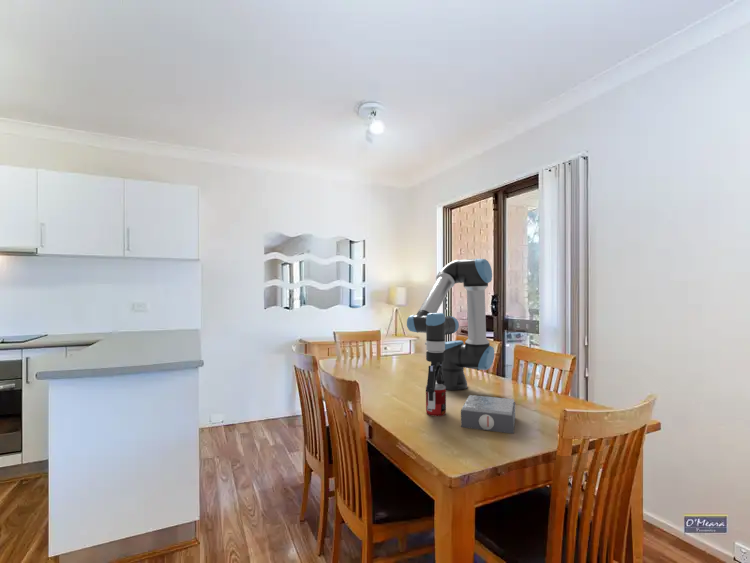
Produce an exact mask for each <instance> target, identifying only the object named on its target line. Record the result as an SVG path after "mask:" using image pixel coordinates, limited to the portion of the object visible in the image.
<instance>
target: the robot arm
mask: <svg viewBox="0 0 750 563" xmlns="http://www.w3.org/2000/svg"><path fill="white" fill-rule="evenodd" d="M492 270H493V269H492V266H491V264H490V262H489V261H488V260H487V259H485V258H467V259H455V260H451V262H449V263H447V264H446V265H444V267H442V268H441V269H440V271H439V272H438V273H437V275H436V278H435V280H436V281H435V282H434V284H433V286H432V287H431V289H430V290H429V293H428V294H427V296H426V297H425V299H424V301H423V303H422V304H421V306H420V308H419V309H418V311H417V313H416V314H411V315H409V316H408V317H407V319H406V326H407V330H408V331H409V332H413V333H422V334H426V338H425V339H426V340H425V342H424V345H426V346H425V348H426V353H425V355H426V356H425V358H426V359H425V360H426V361H427V362H430V365H428V373H427V381H426V385H427V389H426V388H425V393H426V392H428V409H435V385H436V384H441V385H444V386H446V391H449V390H450V391H459V390H460V391H461V390H466V389H468V381H467V377H466V375H465V372H464V370H465V369H472V370H473V369H474V370H479V371H480V370H481V371H488V370H489V369H491V367H492V365H493V362H494V359H495V349H494V347H493V346H492V345H491V344H490V341H489V339H487V322H486V318H487V316H486V289H487V288H488V287H489V284H490V283H491V282H492V280H493V271H492ZM456 284H463V288H464V289H465V290H466V307H467V311H466V312H467V337H468V338H466V340H465V341H463V340H450V341H446V336H447V335H452V334H455V333H456V332H457V331H458V330H459V320H458V319H457V318H456V317H454V316H449V315H447V316H446V315H445V313H442V312H439V309H440V307H441V306H442V303H443V302H444V300H445V298H446V296H447V294H449V291H450V290H451V289H452V288H454V286H455V285H456ZM464 368H465V369H464ZM431 388H432V389H431Z"/></svg>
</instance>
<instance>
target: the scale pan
mask: <svg viewBox="0 0 750 563" xmlns="http://www.w3.org/2000/svg"><path fill="white" fill-rule="evenodd" d="M514 402H515V399H514V398H503V397H494V396H493V397H492V396H482V395H476V394H475V395H471V394H469V395H468V397H467V398H466V400H465V402H464V404H463V405H462V408H461V409H462V410H465V411H474V412H483V413H492V414H501V415H510V416H512V411H513V405H514Z"/></svg>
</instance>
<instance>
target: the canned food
mask: <svg viewBox="0 0 750 563" xmlns="http://www.w3.org/2000/svg"><path fill="white" fill-rule="evenodd" d="M426 389H427V384H426V386H425V390H426ZM431 389H432V388H431ZM425 411H426V412H425V413H426V414H427V415H429V416H432V417H443V416H445V415H446V413H447V389H446V386H444V385H441V384H437V383H436V385H435V409H428V392H426V391H425Z"/></svg>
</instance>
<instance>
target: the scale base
mask: <svg viewBox="0 0 750 563" xmlns="http://www.w3.org/2000/svg"><path fill="white" fill-rule="evenodd" d="M515 421H516V401H514V405H513V411H512V416H510V415H501V414H492V413H483V412H474V411H465V410H462V408H461V410H460V427H461V428H464V429H465V428H468V429H475V430H481V431H488V432H489V431H490V432H495V433H496V432H498V433H505V434H512V435H513V434H515V433H514V432H515V423H516V422H515Z"/></svg>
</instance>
